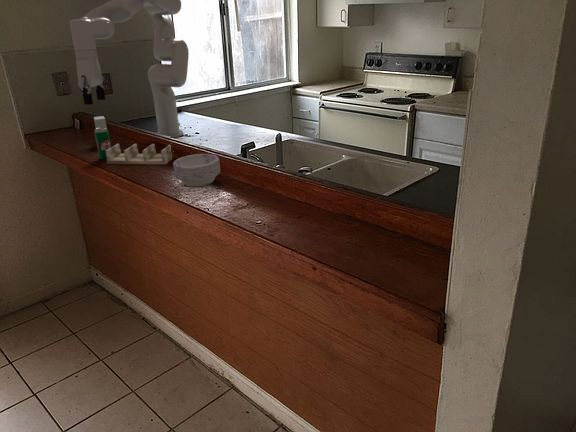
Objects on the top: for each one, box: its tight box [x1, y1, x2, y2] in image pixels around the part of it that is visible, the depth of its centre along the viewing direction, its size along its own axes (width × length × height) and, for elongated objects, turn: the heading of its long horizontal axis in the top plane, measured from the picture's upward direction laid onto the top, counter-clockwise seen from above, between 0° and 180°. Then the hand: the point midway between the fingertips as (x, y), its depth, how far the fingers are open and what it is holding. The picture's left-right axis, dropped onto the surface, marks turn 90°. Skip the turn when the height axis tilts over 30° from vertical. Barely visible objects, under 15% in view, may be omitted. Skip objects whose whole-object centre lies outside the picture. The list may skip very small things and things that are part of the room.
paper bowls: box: [172, 153, 221, 188], centre depth 166 cm, size 15×15×8 cm
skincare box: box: [93, 115, 108, 130], centre depth 216 cm, size 6×4×12 cm
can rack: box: [106, 143, 173, 165], centre depth 193 cm, size 10×24×5 cm, turn 82°
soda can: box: [94, 127, 112, 161], centre depth 196 cm, size 5×5×12 cm
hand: (95, 101), depth 190 cm, fingers open, 9 cm apart
